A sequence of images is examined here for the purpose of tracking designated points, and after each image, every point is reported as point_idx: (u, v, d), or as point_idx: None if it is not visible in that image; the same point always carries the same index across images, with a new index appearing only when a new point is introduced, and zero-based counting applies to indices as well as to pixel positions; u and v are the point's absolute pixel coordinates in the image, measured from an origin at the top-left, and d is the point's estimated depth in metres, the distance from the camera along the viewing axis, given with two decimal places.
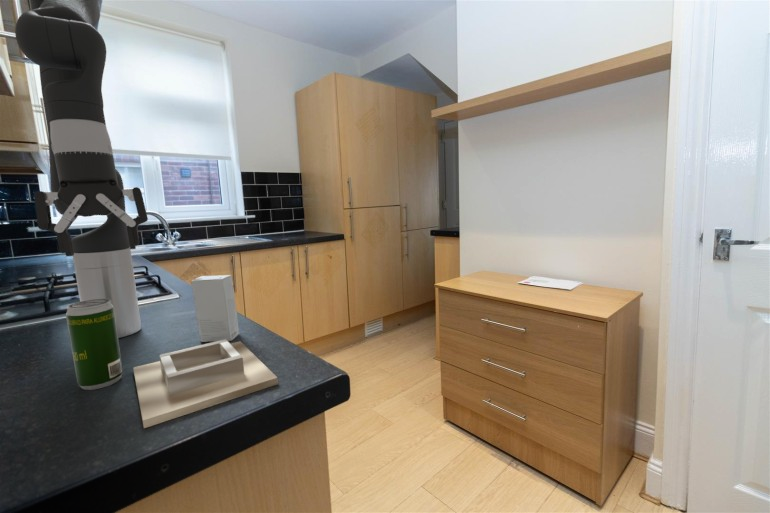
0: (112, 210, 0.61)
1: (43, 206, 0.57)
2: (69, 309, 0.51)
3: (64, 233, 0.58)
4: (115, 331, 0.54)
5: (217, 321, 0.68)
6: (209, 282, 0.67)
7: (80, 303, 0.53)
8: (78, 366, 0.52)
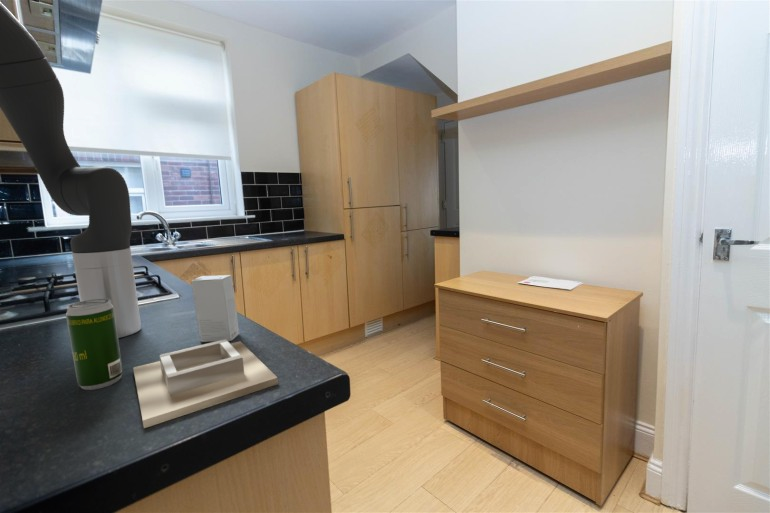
0: None
1: None
2: (69, 309, 0.51)
3: None
4: (115, 331, 0.54)
5: (217, 321, 0.68)
6: (209, 282, 0.67)
7: (80, 303, 0.53)
8: (78, 366, 0.52)
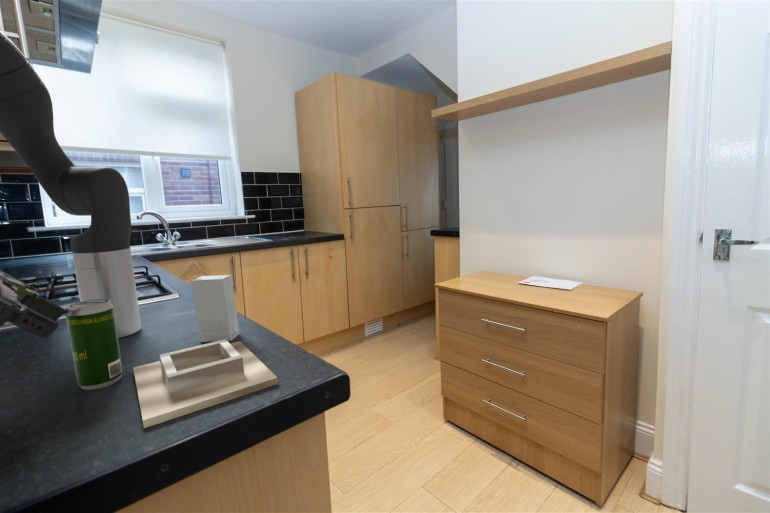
0: None
1: None
2: (69, 309, 0.51)
3: (27, 308, 0.52)
4: (115, 331, 0.54)
5: (217, 321, 0.68)
6: (209, 282, 0.67)
7: (80, 303, 0.53)
8: (78, 366, 0.52)
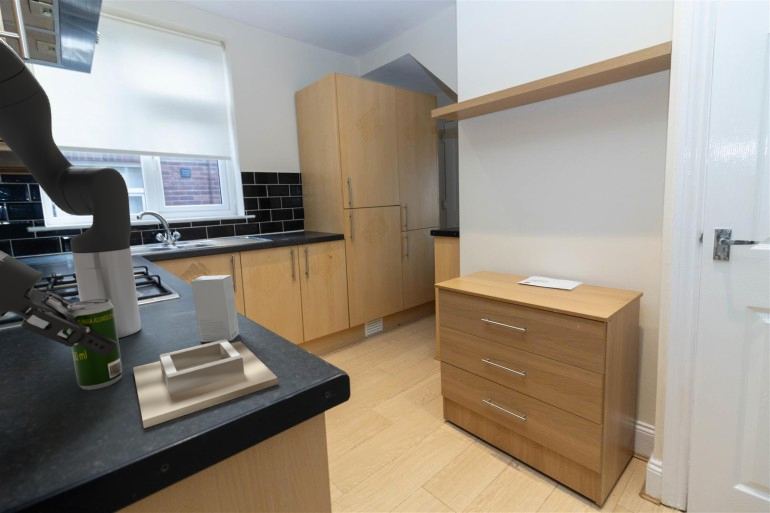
0: None
1: None
2: (69, 309, 0.51)
3: None
4: (115, 331, 0.54)
5: (217, 321, 0.68)
6: (209, 282, 0.67)
7: (80, 303, 0.53)
8: (78, 366, 0.52)
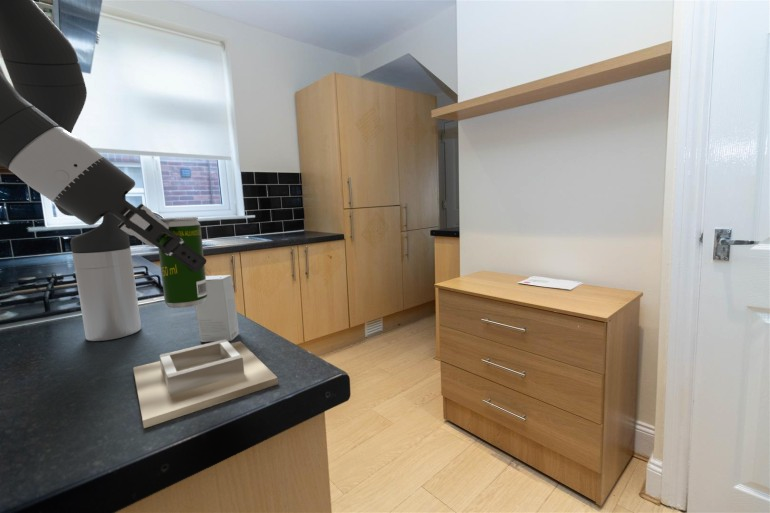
0: None
1: None
2: None
3: None
4: (202, 250, 0.52)
5: (217, 321, 0.68)
6: (209, 282, 0.67)
7: (167, 219, 0.51)
8: (167, 282, 0.49)
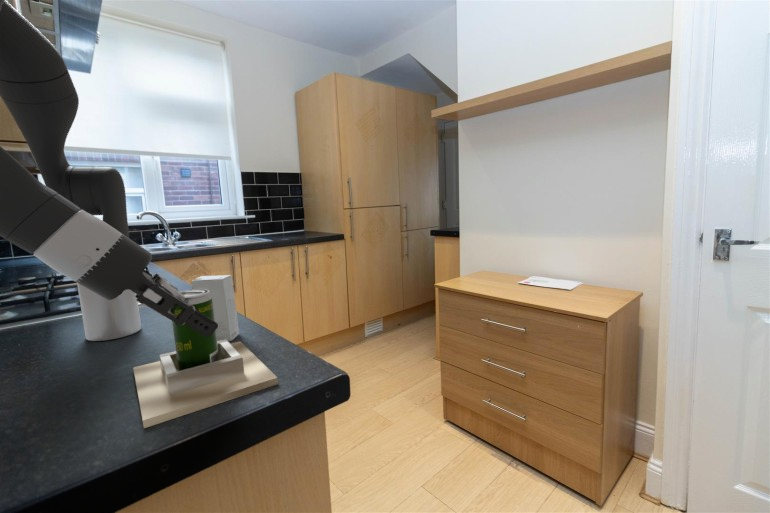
0: None
1: None
2: None
3: None
4: None
5: (217, 321, 0.68)
6: (209, 282, 0.67)
7: None
8: (182, 356, 0.51)
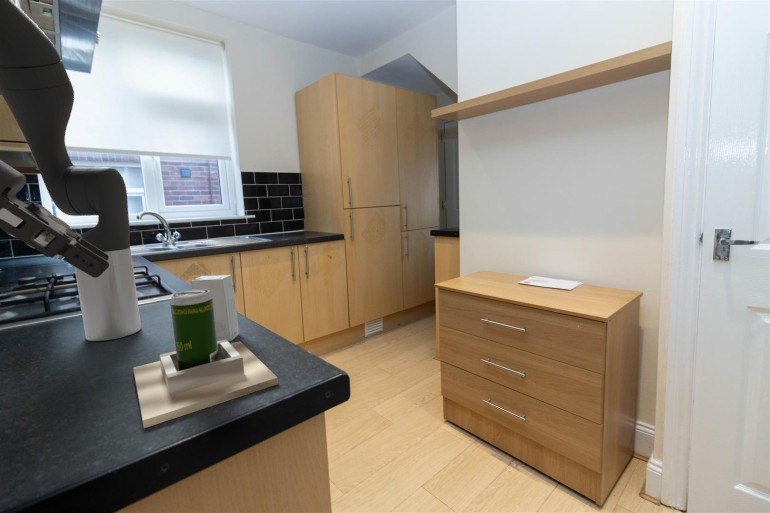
0: None
1: None
2: (175, 299, 0.50)
3: None
4: (214, 321, 0.54)
5: (217, 321, 0.68)
6: (209, 282, 0.67)
7: (181, 293, 0.53)
8: (182, 356, 0.51)
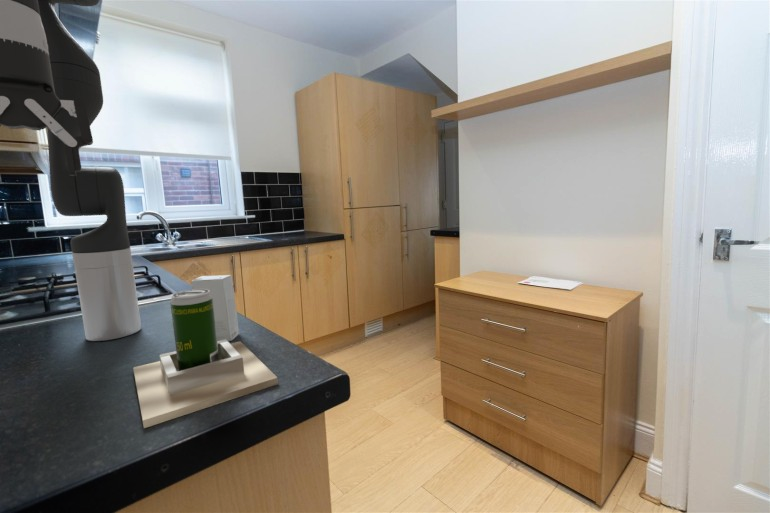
0: (46, 122, 0.49)
1: None
2: (175, 298, 0.50)
3: None
4: (214, 321, 0.54)
5: (217, 321, 0.68)
6: (209, 282, 0.67)
7: (181, 293, 0.53)
8: (182, 356, 0.51)
